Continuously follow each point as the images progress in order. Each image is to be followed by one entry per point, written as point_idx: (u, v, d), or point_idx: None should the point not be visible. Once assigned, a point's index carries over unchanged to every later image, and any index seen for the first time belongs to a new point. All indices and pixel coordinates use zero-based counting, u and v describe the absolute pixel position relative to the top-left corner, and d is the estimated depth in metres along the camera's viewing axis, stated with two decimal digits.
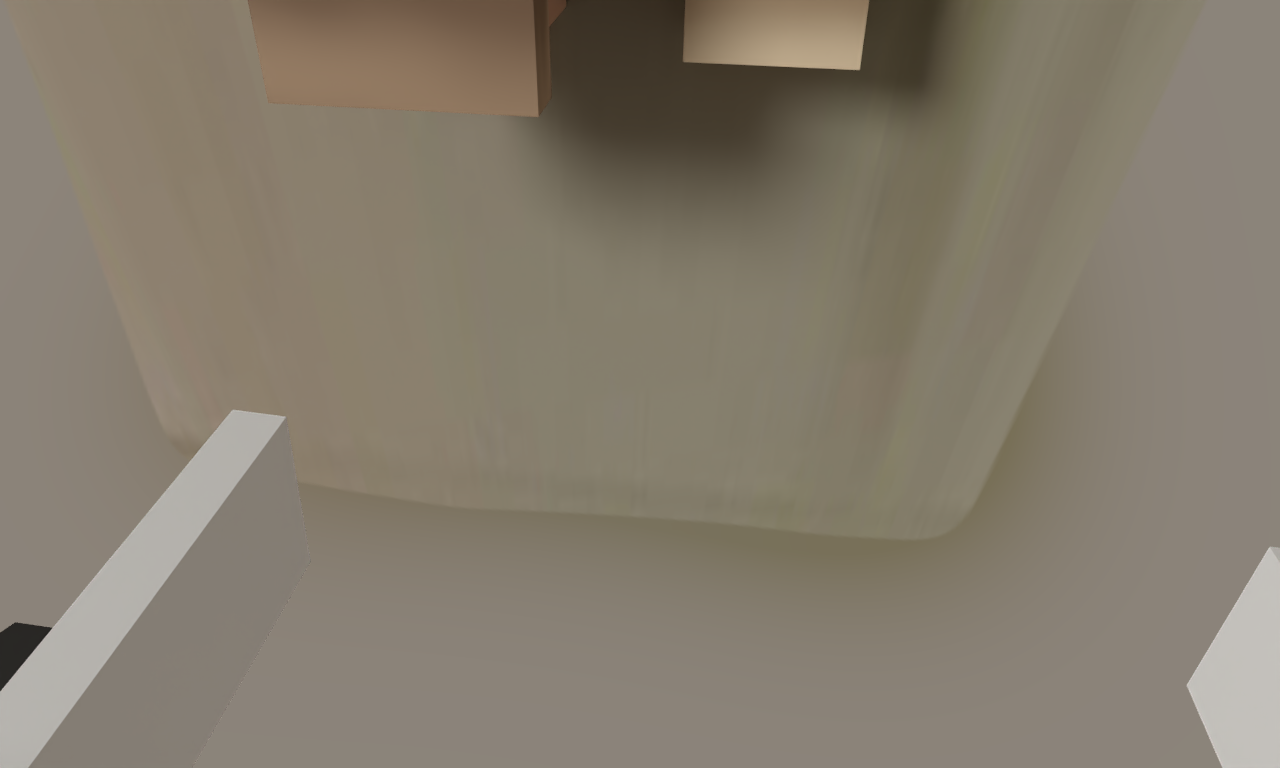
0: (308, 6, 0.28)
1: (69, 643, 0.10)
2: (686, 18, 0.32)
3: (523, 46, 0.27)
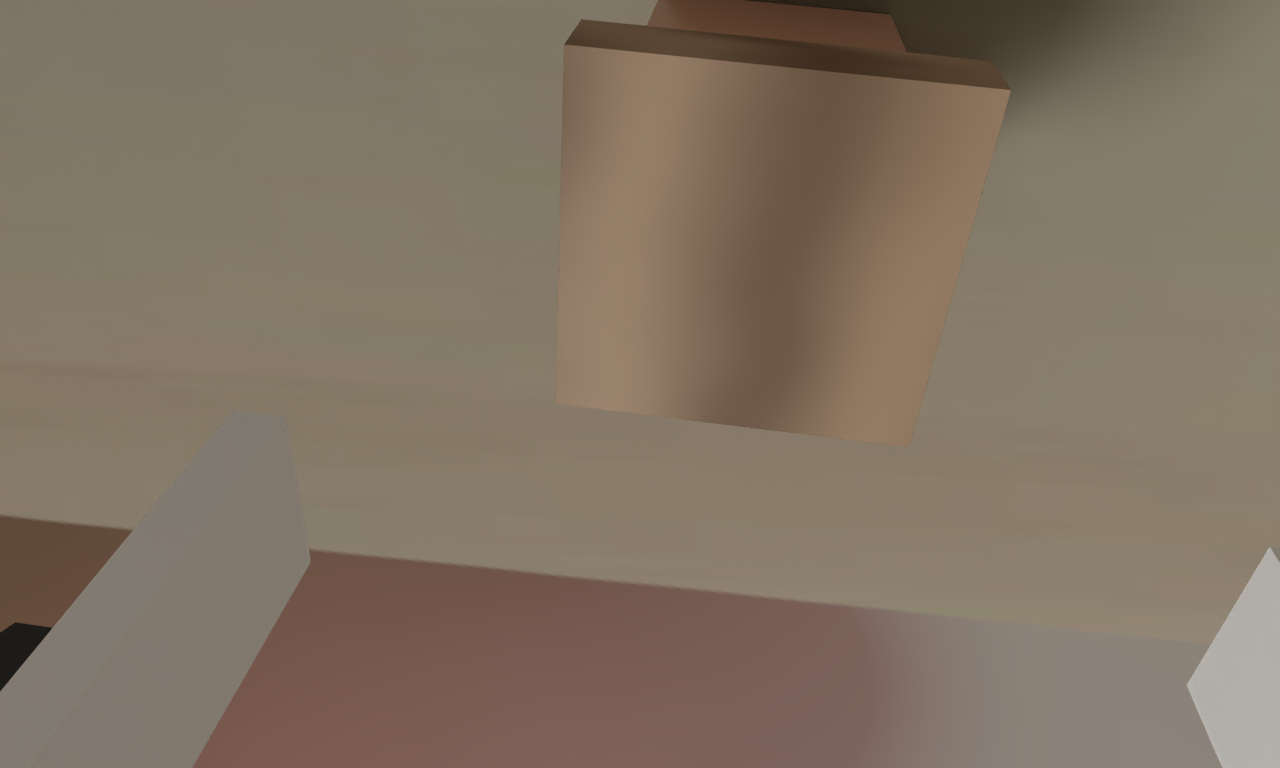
0: (798, 368, 0.22)
1: (69, 643, 0.10)
2: None
3: (897, 97, 0.18)
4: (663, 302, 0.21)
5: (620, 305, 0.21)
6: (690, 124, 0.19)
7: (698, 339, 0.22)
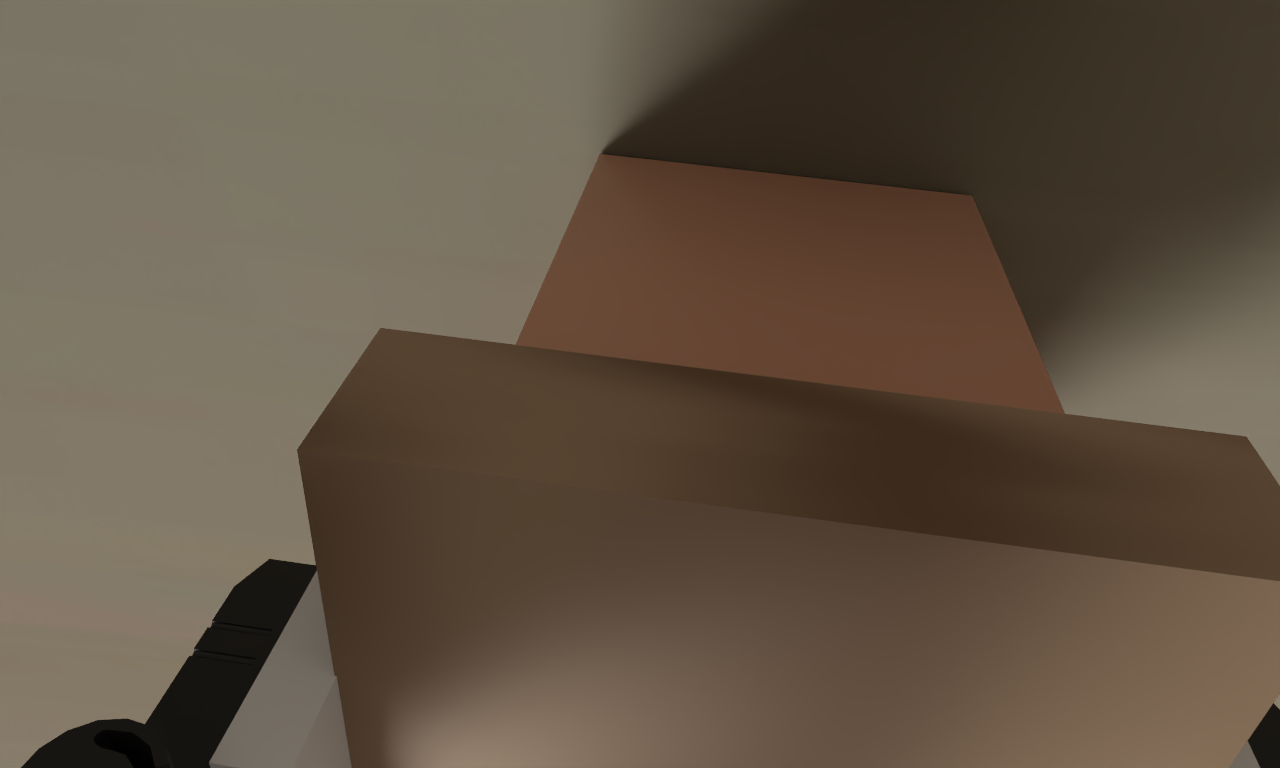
0: None
1: None
2: None
3: (1069, 585, 0.08)
4: None
5: None
6: (594, 600, 0.08)
7: None
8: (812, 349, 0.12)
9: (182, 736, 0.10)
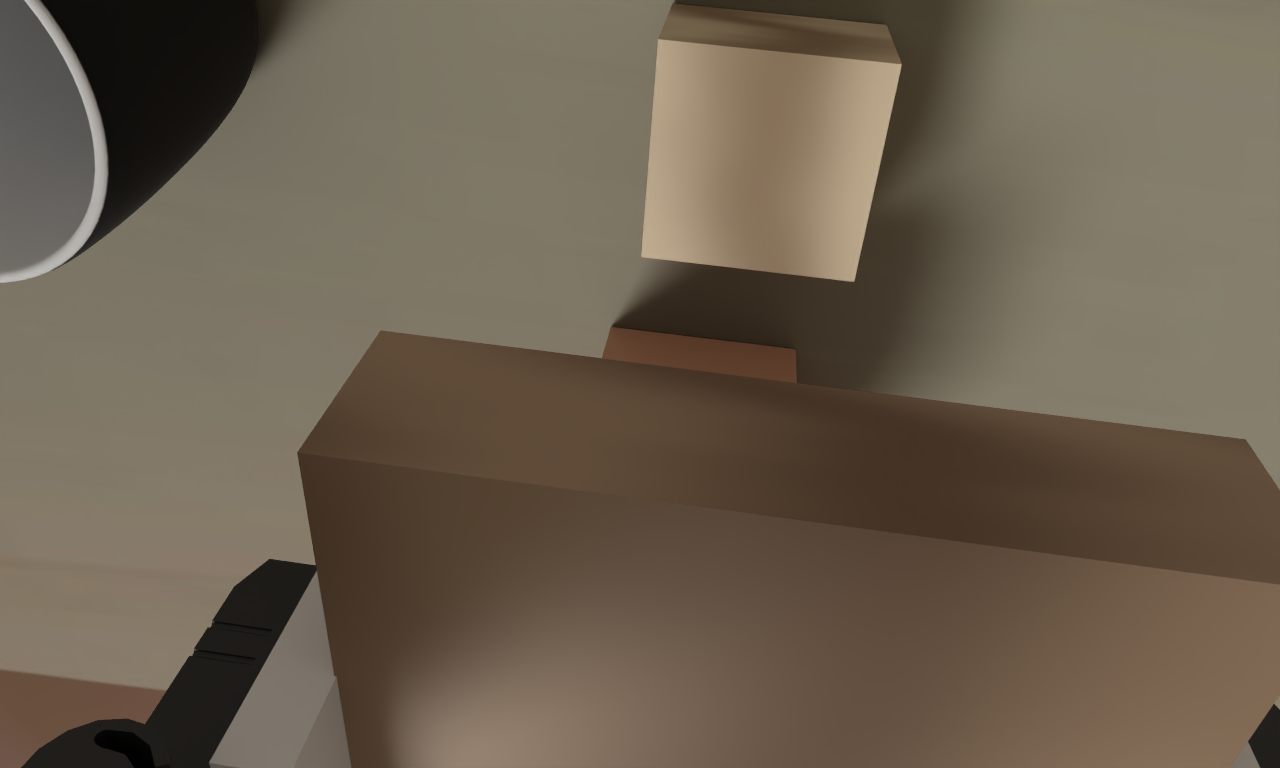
0: None
1: None
2: (803, 273, 0.27)
3: (1068, 588, 0.08)
4: None
5: None
6: (594, 603, 0.08)
7: None
8: None
9: (181, 737, 0.10)
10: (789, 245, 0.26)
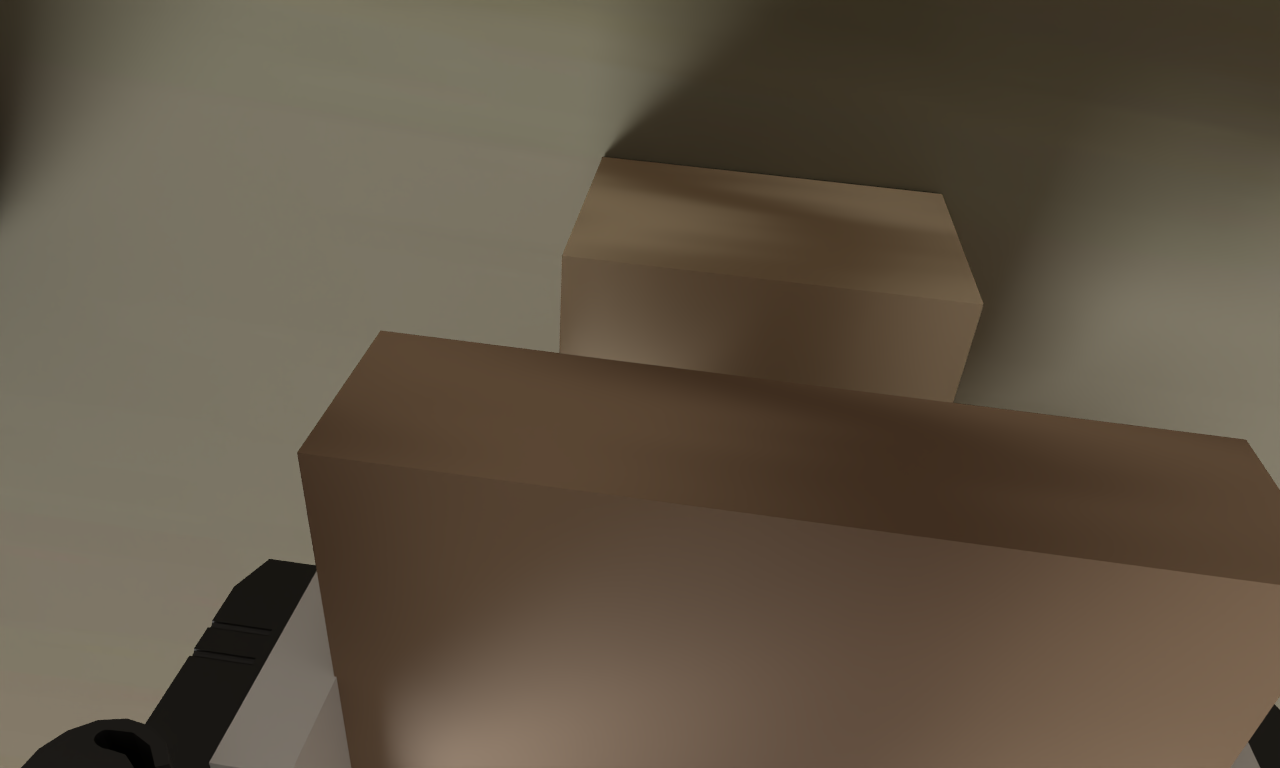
0: None
1: None
2: None
3: (1068, 588, 0.08)
4: None
5: None
6: (593, 603, 0.08)
7: None
8: None
9: (181, 737, 0.10)
10: None
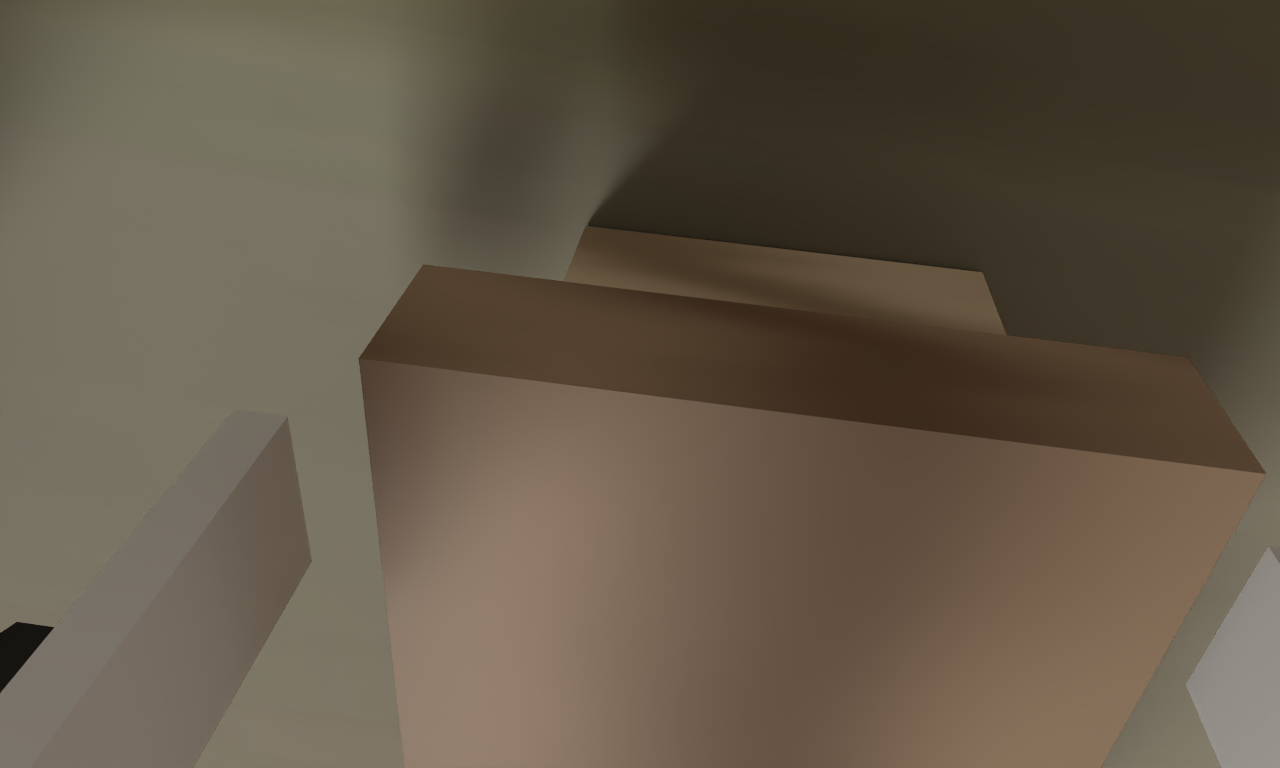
0: None
1: (70, 642, 0.10)
2: None
3: (1026, 473, 0.09)
4: (580, 739, 0.12)
5: (506, 738, 0.12)
6: (615, 494, 0.10)
7: None
8: None
9: None
10: None
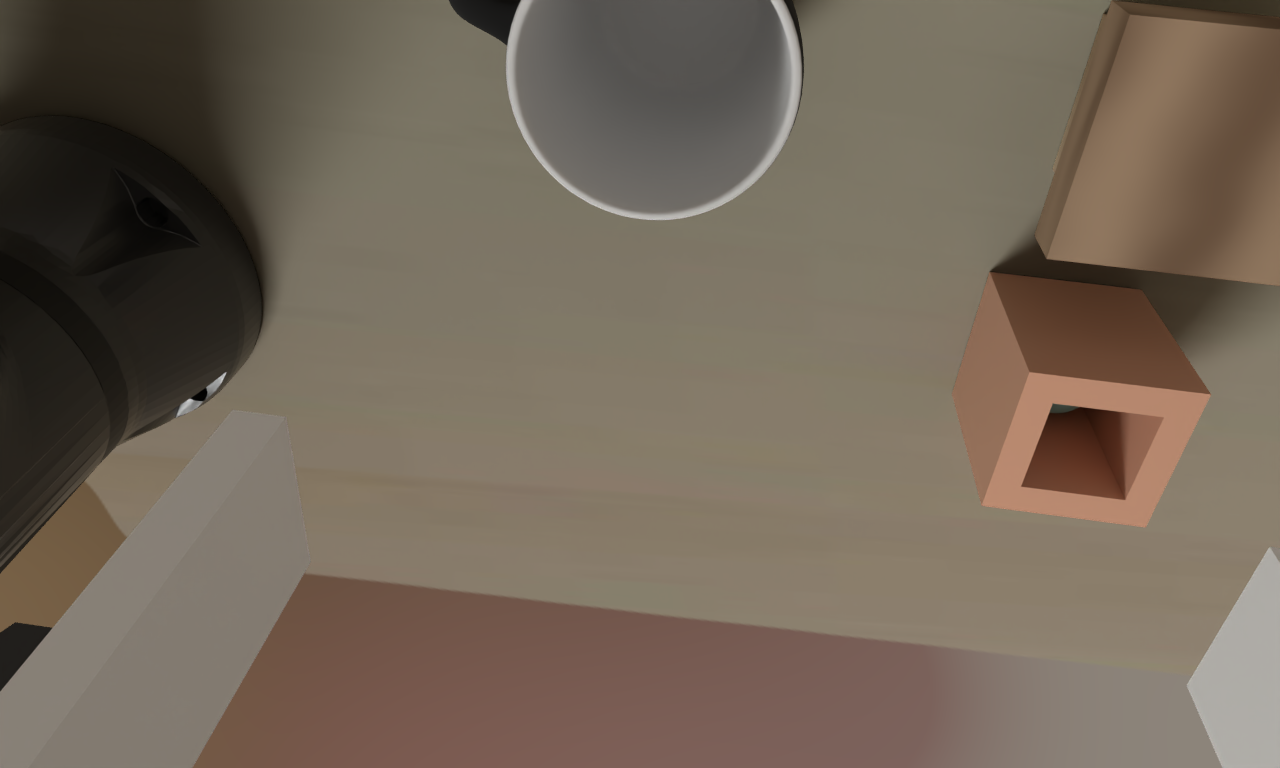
0: (1225, 230, 0.33)
1: (69, 643, 0.10)
2: None
3: None
4: (1144, 185, 0.32)
5: (1114, 187, 0.33)
6: (1198, 64, 0.30)
7: (1162, 211, 0.33)
8: (1111, 351, 0.36)
9: None
10: None
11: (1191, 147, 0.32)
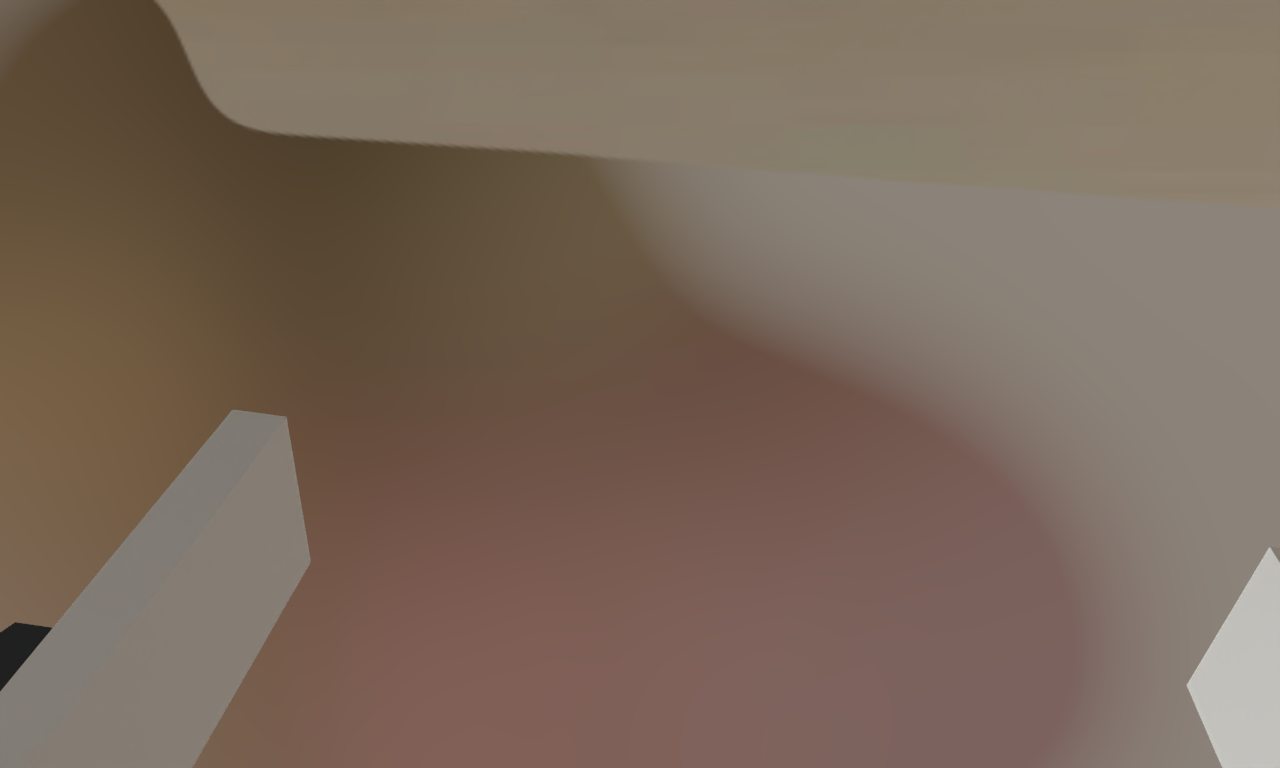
0: None
1: (69, 643, 0.10)
2: None
3: None
4: None
5: None
6: None
7: None
8: None
9: None
10: None
11: None
